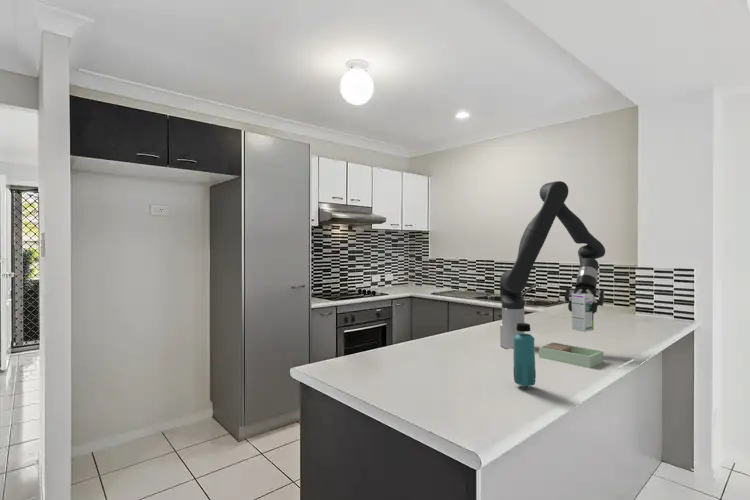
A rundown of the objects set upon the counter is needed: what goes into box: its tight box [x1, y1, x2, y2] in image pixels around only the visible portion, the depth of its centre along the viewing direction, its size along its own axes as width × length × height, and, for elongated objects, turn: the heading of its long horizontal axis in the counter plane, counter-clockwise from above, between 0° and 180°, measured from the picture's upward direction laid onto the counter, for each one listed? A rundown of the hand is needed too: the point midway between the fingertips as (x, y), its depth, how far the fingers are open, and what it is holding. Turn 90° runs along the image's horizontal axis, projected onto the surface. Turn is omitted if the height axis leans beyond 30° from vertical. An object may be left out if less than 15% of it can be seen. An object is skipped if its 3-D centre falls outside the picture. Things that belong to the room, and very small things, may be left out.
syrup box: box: [571, 293, 595, 333], centre depth 163 cm, size 6×6×14 cm
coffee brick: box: [544, 343, 571, 353], centre depth 160 cm, size 7×8×4 cm
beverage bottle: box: [512, 322, 537, 387], centre depth 128 cm, size 6×7×20 cm
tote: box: [538, 342, 604, 369], centre depth 156 cm, size 19×11×5 cm, turn 39°
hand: (581, 311), depth 162 cm, fingers closed on syrup box, 7 cm apart
